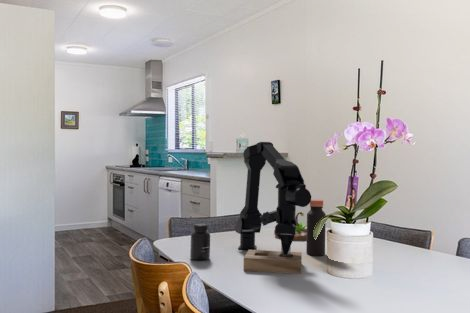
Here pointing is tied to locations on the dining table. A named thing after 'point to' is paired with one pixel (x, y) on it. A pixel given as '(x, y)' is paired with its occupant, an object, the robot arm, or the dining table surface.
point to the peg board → (272, 261)
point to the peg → (287, 254)
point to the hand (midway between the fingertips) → (286, 251)
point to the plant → (298, 231)
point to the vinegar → (313, 217)
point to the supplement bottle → (200, 243)
